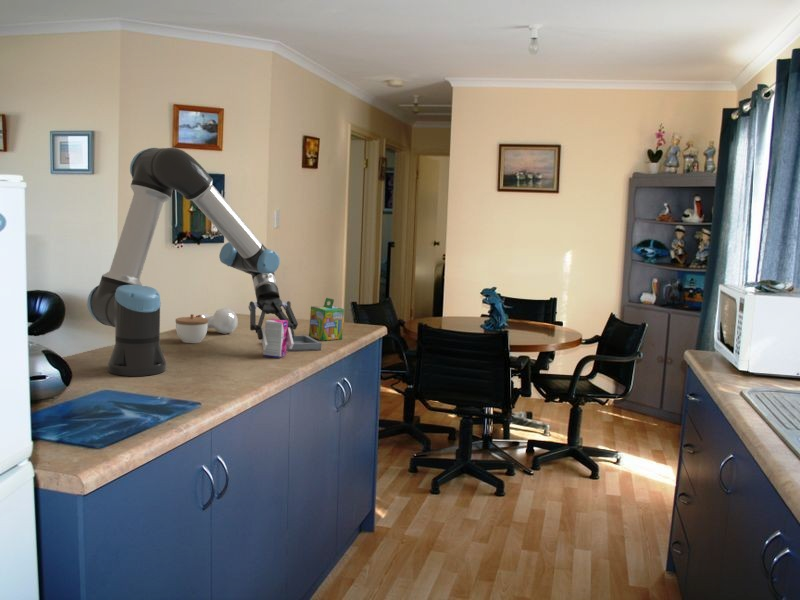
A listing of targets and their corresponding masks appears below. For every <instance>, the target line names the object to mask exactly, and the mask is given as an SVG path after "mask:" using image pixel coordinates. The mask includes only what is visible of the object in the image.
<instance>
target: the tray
mask: <svg viewBox="0 0 800 600" xmlns="http://www.w3.org/2000/svg"><path fill="white" fill-rule="evenodd" d="M293 342H294V345H293V347H292V349H289V344H288V340H287V346H286V351H288V352H303V351H304V352H309V351H311V352H312V351H322V342H320V341H318V339H315V338H312V337H309V335H307V334H305V335H303V334H299V335H297V334H294V338H293Z"/></svg>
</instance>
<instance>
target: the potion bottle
mask: <svg viewBox="0 0 800 600" xmlns="http://www.w3.org/2000/svg"><path fill="white" fill-rule="evenodd" d="M195 317H202V318H207V319H208V329H214V330H215V331H216V332H217V333H220V334H222V335H227V334H230V333H234V331H235V329H236V328H237V327H238V325H239V324H238V321H239V319H238V316H237V314H236V312H234V310H232V309H231V308H228V307H224V308H220V309H217V310H216V311H215V312H214V314H213V315H208V314H207V313H203V314H198V315H195Z"/></svg>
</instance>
